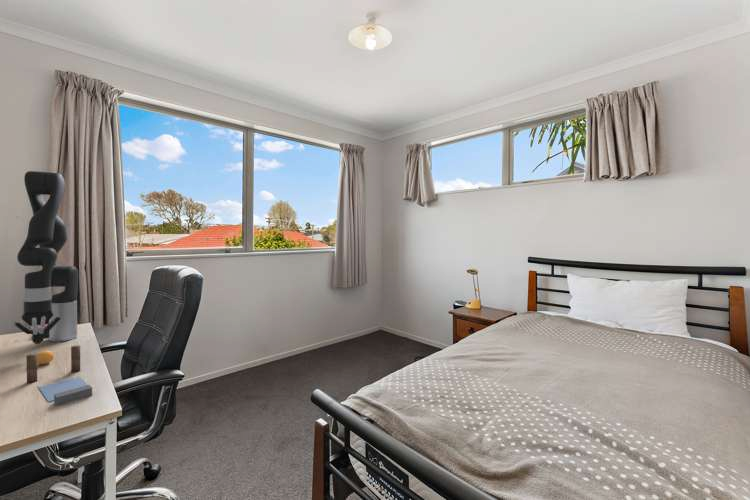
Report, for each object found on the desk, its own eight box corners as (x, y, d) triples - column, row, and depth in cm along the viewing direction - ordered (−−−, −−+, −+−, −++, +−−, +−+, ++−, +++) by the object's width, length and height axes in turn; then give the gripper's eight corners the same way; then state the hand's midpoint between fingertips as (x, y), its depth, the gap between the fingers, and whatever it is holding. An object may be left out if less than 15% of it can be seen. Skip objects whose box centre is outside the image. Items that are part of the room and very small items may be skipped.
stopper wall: (54, 402, 96) (54, 394, 95) (89, 392, 102) (89, 384, 102) (56, 406, 94) (56, 397, 94) (92, 395, 100) (92, 387, 100)
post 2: (70, 371, 116) (70, 346, 116) (79, 369, 118) (79, 344, 118) (72, 373, 115) (72, 348, 114) (81, 370, 117) (81, 346, 116)
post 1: (26, 381, 107) (25, 355, 107) (36, 379, 109) (36, 353, 109) (27, 383, 106) (27, 356, 105) (38, 381, 108) (37, 354, 107)
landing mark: (38, 387, 104) (38, 387, 104) (79, 377, 112) (79, 376, 112) (48, 402, 96) (48, 401, 96) (91, 389, 104) (91, 389, 104)
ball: (33, 364, 121) (33, 350, 120) (52, 360, 125) (52, 347, 124) (36, 367, 118) (36, 354, 117) (55, 363, 122) (55, 350, 122)
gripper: (59, 295, 133) (58, 337, 133) (11, 300, 122) (10, 345, 123) (63, 298, 129) (63, 341, 129) (14, 302, 118) (13, 349, 118)
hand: (37, 343), depth 126 cm, fingers closed
